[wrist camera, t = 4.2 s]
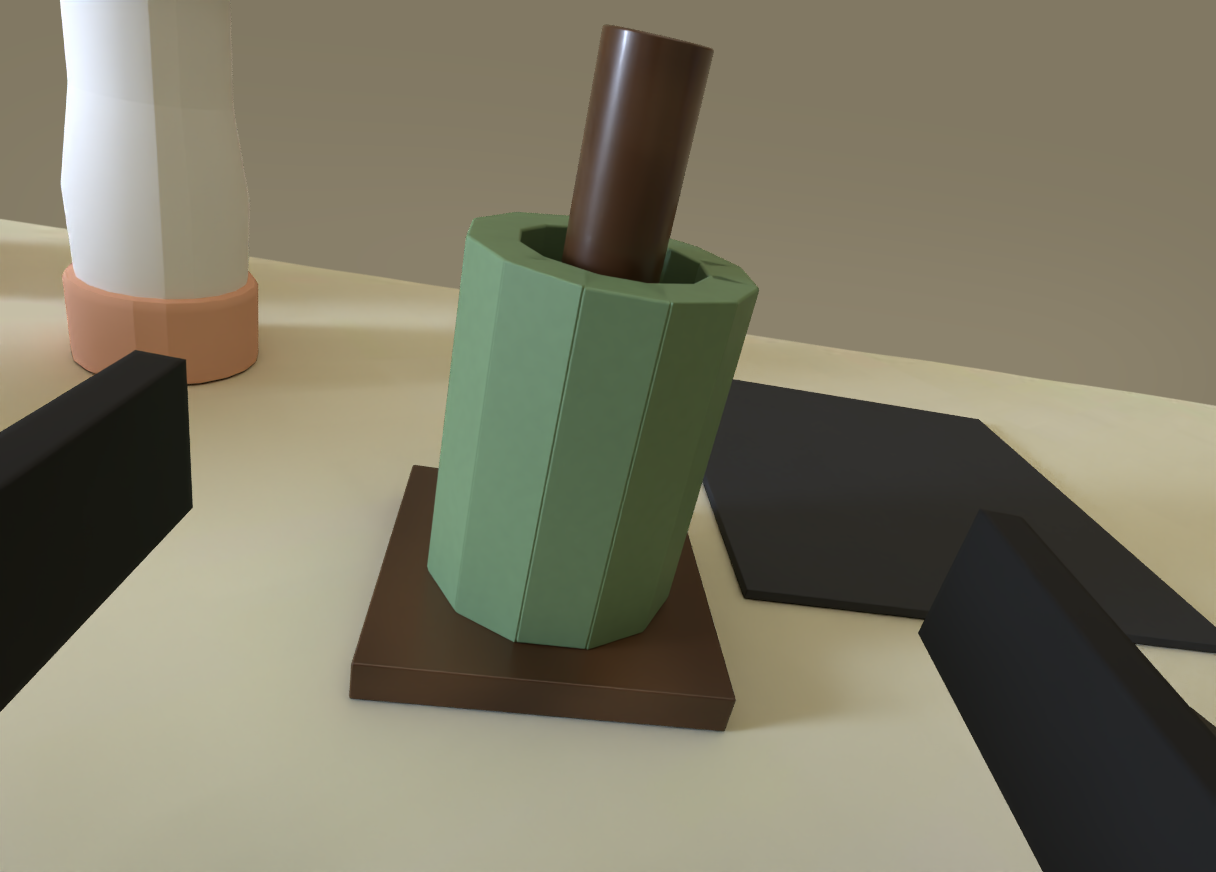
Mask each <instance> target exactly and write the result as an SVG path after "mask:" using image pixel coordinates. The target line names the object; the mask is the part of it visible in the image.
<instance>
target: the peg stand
mask: <svg viewBox="0 0 1216 872" xmlns="http://www.w3.org/2000/svg"><path fill="white" fill-rule="evenodd" d="M713 53H714V51H713V49H711V48H709V47H705V46H702V45H698V44H694V43H690V42H686V41H682V40H678V39H674V38H670V37H665V36H661V35H656V34H652V33H648V32H643V31H639V30H634V29H629V28H624V27H619V26H614V25H603V28H602V33H601V40H600V45H599V51H598V56H597V62H596V68H595V73H594V79H593V84H592V90H591V96H590V102H589V107H588V113H587V119H586V125H585V130H584V136H583V142H582V147H581V153H580V159H579V164H578V171H577V176H576V181H575V187H574V193H573V199H572V204H571V210H570V215H569V221H568V227H567V233H566V238H565V244H564V250H563V255H562V261H561V262H562V263H565V264H568V265H571V266H574V267H577V268H580V269H583V270H586V271H590V272H593V273H596V274H599V275H604V276H610V277H615V278H621V279H627V280H632V281H638V282H643V283H657V284H659V282H660V277H661V273H662V269H663V265H664V260H665V256H666V252H667V248H668V243H669V239H670V235H671V231H672V226H673V222H674V218H675V214H676V210H677V205H678V201H679V196H680V192H681V188H682V184H683V180H684V176H685V171H686V167H687V163H688V158H689V154H690V150H691V146H692V142H693V137H694V133H695V129H696V124H697V120H698V116H699V112H700V108H701V104H702V99H703V95H704V91H705V87H706V82H707V78H708V74H709V69H710V65H711V61H712V57H713ZM438 471H439V468H433V467H425V466H418V465H413V467H412V470H411V473H410V476H409V480H408V483H407V486H406V489H405V492H404V496H403V499H402V502H401V505H400V509H399V512H398V515H397V518H396V521H395V525H394V528H393V531H392V534H391V538H390V541H389V544H388V547H387V550H386V554H385V557H384V560H383V563H382V567H381V570H380V573H379V576H378V579H377V583H376V586H375V589H374V592H373V596H372V599H371V602H370V605H369V608H368V612H367V615H366V618H365V621H364V625H363V628H362V631H361V634H360V637H359V641H358V644H357V647H356V650H355V654H354V657H353V660H352V663H351V675H350V690H349V697H350V698H353V699H364V700H376V701H387V702H398V703H410V704H421V705H433V706H444V707H455V708H467V709H478V710H490V711H501V712H512V713H524V714H535V715H547V716H558V717H569V718H581V719H592V720H604V721H615V722H626V723H638V724H649V725H661V726H672V727H683V728H695V729H706V730H717V731H724V730H725V728H726V725H727V723H728V720H729V717H730V715H731V712H732V709H733V707H734V704H735V701H736V699H735V695H734V692H733V689H732V685H731V682H730V678H729V675H728V671H727V668H726V664H725V661H724V657H723V654H722V650H721V647H720V643H719V640H718V637H717V633H716V630H715V626H714V623H713V619H712V616H711V612H710V609H709V605H708V602H707V598H706V595H705V591H704V588H703V585H702V581H701V578H700V574H699V571H698V567H697V564H696V560H695V557H694V553H693V550H692V546H691V543H690V539H689V536H688V533H687V535H686V538H685V542H684V545H683V548H682V552H681V555H680V559H679V562H678V565H677V569H676V572H675V575H674V579H673V582H672V585H671V589H670V592H669V596H668V598H667V599H666V601H665V602H664V603H663V605H662V606H661V608H660V609H659V610H658V612H657V613H656V615H655V616H654V617H653V619H652V620H651V622H650V623H649V624H648V626H647V627H646V629H645V630H644V631H643V632H641V633H638V634H635V635H632V636H629V637H626V638H623V639H619V640H616V641H613V642H610V643H607V644H604V645H601V646H598V647H595V648H592V649H588V650H587V649H579V648H569V647H559V646H549V645H540V644H530V643H520V642H513V641H511V640H509V639H507V638H505V637H503V636H501V635H499V634H497V633H495V632H493V631H491V630H490V629H488V628H486V627H484V626H482V625H480V624H478V623H476V622H474V621H472V620H470V619H468V618H466V617H464V616H462V615H461V614H459V613H457V612H455V610H454V609H453V607H452V606H451V604H450V603H449V601H448V600H447V598H446V597H445V595H444V593H443V592H442V590H441V589H440V587H439V586H438V584H437V583H436V581H435V580H434V578H433V577H432V575H431V574H430V572H429V571H428V567H427V564H428V556H429V547H430V539H431V530H432V522H433V513H434V505H435V496H436V488H437V479H438Z"/></svg>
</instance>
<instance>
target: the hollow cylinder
mask: <svg viewBox="0 0 1216 872" xmlns="http://www.w3.org/2000/svg"><path fill="white" fill-rule="evenodd" d="M568 221H569V216H566V215H552V214H538V213H523V212H513V213H506V214H499V215H493V216H486V217H479V218H475V219H473V221H472V223H471V226H470V228H469V231H468V233H467V236H466V242H465V250H464V259H463V267H462V276H461V284H460V293H459V301H458V310H457V318H456V327H455V335H454V344H453V352H452V361H451V369H450V378H449V386H448V395H447V403H446V412H445V420H444V428H443V437H442V445H441V454H440V462H439V471H438V479H437V488H436V496H435V505H434V513H433V522H432V530H431V539H430V547H429V556H428V564H427V567H428V571H429V572H430V574H431V575H432V577H433V578H434V580H435V581H436V583H437V584H438V586H439V587H440V589H441V590H442V592H443V593H444V595H445V597H446V598H447V600H448V601H449V603H450V604H451V606H452V607H453V609H454V610H455V612H457V613H459V614H461V615H462V616H464V617H466V618H468V619H470V620H472V621H474V622H476V623H478V624H480V625H482V626H484V627H486V628H488V629H490V630H491V631H493V632H495V633H497V634H499V635H501V636H503V637H505V638H507V639H509V640H511V641H513V642H520V643H530V644H540V645H549V646H559V647H569V648H579V649H587V650H588V649H592V648H595V647H598V646H601V645H604V644H607V643H610V642H613V641H616V640H619V639H623V638H626V637H629V636H632V635H635V634H638V633H641V632H643V631H644V630H645V629H646V627H647V626H648V624H649V623H650V622H651V620H652V619H653V617H654V616H655V615H656V613H657V612H658V610H659V609H660V608H661V606H662V605H663V603H664V602H665V601H666V599H667V598H668V596H669V592H670V589H671V585H672V582H673V579H674V575H675V572H676V569H677V565H678V562H679V559H680V555H681V552H682V548H683V545H684V542H685V538H686V535H687V532H688V528H689V525H690V521H691V518H692V515H693V511H694V508H695V505H696V501H697V498H698V495H699V491H700V488H701V484H702V481H703V478H704V474H705V471H706V468H707V464H708V461H709V458H710V454H711V451H712V447H713V444H714V441H715V437H716V434H717V431H718V427H719V424H720V420H721V417H722V414H723V410H724V407H725V404H726V400H727V397H728V394H729V390H730V387H731V383H732V380H733V377H734V373H735V370H736V367H737V363H738V360H739V356H740V353H741V350H742V346H743V343H744V340H745V336H746V333H747V330H748V326H749V322H750V319H751V316H752V313H753V309H754V306H755V303H756V299H757V295H758V292H759V288H758V287H757V286H756V284H755V283H754V282H753V281H752V280H751V279H750V277H749V276H748V275H747V274H746V273H745V272H744V271H743V269H741V268H740V267H739V266H737V265H735V264H733V263H731V262H729V261H726V260H724V259H722V258H720V257H718V256H716V255H714V254H712V253H709V252H707V251H705V250H703V249H701V248H699V247H697V246H693V245H690V244H687V243H684V242H680V241H677V240H673V239H669V243H668V248H667V252H666V256H665V260H664V265H663V269H662V273H661V277H660V282H659V284H657V283H643V282H638V281H632V280H627V279H621V278H615V277H610V276H604V275H599V274H596V273H593V272H590V271H586V270H583V269H580V268H577V267H574V266H571V265H568V264H565V263H562V262H561V261H562V255H563V250H564V244H565V238H566V233H567V227H568Z"/></svg>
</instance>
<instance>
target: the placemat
mask: <svg viewBox="0 0 1216 872" xmlns="http://www.w3.org/2000/svg"><path fill="white" fill-rule="evenodd" d="M703 483H704V486H705V489H706V492H707V494H708V497H709V500H710V503H711V506H712V508H713V511H714V514H715V517H716V520H717V522H718V525H719V528H720V531H721V534H722V536H723V539H724V542H725V545H726V548H727V550H728V553H729V556H730V559H731V562H732V564H733V567H734V570H735V573H736V576H737V578H738V581H739V584H740V587H741V590H742V593H743V595H744V597H745V598H751V599H760V600H768V601H777V602H786V603H794V604H803V605H811V606H820V607H828V608H837V609H846V610H854V611H863V612H871V613H880V614H889V615H897V616H906V617H914V618H923V619H925V618H926V616H927V614H928V612H929V610H930V608H931V606H932V604H933V602H934V600H935V598H936V596H937V594H938V592H939V590H940V588H941V586H942V584H943V582H944V580H945V578H946V576H947V574H948V572H949V570H950V568H951V566H952V564H953V562H954V560H955V558H956V556H957V554H958V552H959V550H960V548H961V546H962V544H963V542H964V540H965V537H966V535H967V533H968V531H969V529H970V527H971V525H972V523H973V521H974V519H975V517H976V515H977V513H978V511H979V509H984V510H989V511H995V512H1000V513H1005V514H1011V515H1016V516H1021V517H1023V518H1024V519H1025V521H1026V522H1027V523H1028V524H1029V525H1030V526H1031V527H1032V528H1033V530H1034V531H1035V532H1036V533H1037V534H1038V535H1039V536H1040V538H1041V539H1042V540H1043V541H1044V542H1045V543H1046V544H1047V545H1048V547H1049V548H1050V549H1051V550H1052V551H1053V552H1054V553H1055V555H1056V556H1057V557H1058V558H1059V559H1060V560H1061V561H1062V563H1063V564H1064V565H1065V566H1066V567H1067V568H1068V569H1069V570H1070V572H1071V573H1072V574H1073V575H1074V576H1075V577H1076V578H1077V580H1078V581H1079V582H1080V583H1081V584H1082V585H1083V586H1084V587H1085V589H1086V590H1087V591H1088V592H1089V593H1090V594H1091V595H1092V597H1093V598H1094V599H1095V600H1096V601H1097V602H1098V603H1099V605H1100V606H1101V607H1102V608H1103V609H1104V610H1105V611H1106V612H1107V614H1108V615H1109V616H1110V617H1111V618H1112V619H1113V620H1114V622H1115V623H1116V624H1117V625H1118V626H1119V627H1120V628H1121V629H1122V631H1123V632H1124V633H1125V634H1126V635H1127V636H1128V637H1129V639H1130V640H1131V641H1132V642H1133V643H1137V644H1146V645H1154V646H1163V647H1171V648H1180V649H1189V650H1197V651H1206V652H1214V653H1216V627H1215V626H1214V625H1213V624H1212V623H1210V622H1209V621H1208V620H1207V619H1206V618H1205V617H1204V616H1202V615H1201V614H1200V613H1199V612H1198V611H1197V610H1196V609H1194V608H1193V607H1192V606H1191V605H1190V604H1189V603H1188V602H1186V601H1185V600H1184V599H1183V598H1182V597H1181V596H1180V595H1178V594H1177V593H1176V592H1175V591H1174V590H1173V589H1172V588H1170V587H1169V586H1168V585H1167V584H1166V583H1165V582H1164V581H1162V580H1161V579H1160V578H1159V577H1158V576H1157V575H1156V574H1155V573H1153V572H1152V571H1151V570H1150V569H1149V568H1148V567H1147V566H1145V565H1144V564H1143V563H1142V562H1141V561H1140V560H1139V559H1137V558H1136V557H1135V556H1134V555H1133V554H1132V553H1131V552H1129V551H1128V550H1127V549H1126V548H1125V547H1124V546H1123V545H1121V544H1120V543H1119V542H1118V541H1117V540H1116V539H1115V538H1113V537H1112V536H1111V535H1110V534H1109V533H1108V532H1107V531H1105V530H1104V529H1103V528H1102V527H1101V526H1100V525H1099V524H1097V523H1096V522H1095V521H1094V520H1093V519H1092V518H1091V517H1090V516H1088V515H1087V514H1086V513H1085V512H1084V511H1083V510H1082V509H1080V508H1079V507H1078V506H1077V505H1076V504H1075V503H1074V502H1072V501H1071V500H1070V499H1069V498H1068V497H1067V496H1066V495H1064V494H1063V493H1062V492H1061V491H1060V490H1059V489H1058V488H1056V487H1055V486H1054V485H1053V484H1052V483H1051V482H1050V481H1048V480H1047V479H1046V478H1045V477H1044V476H1043V475H1042V474H1040V473H1039V472H1038V471H1037V470H1036V469H1035V468H1034V467H1032V466H1031V465H1030V464H1029V463H1028V462H1027V461H1026V460H1025V459H1023V458H1022V457H1021V456H1020V455H1019V454H1018V453H1017V452H1015V451H1014V450H1013V449H1012V448H1011V447H1010V446H1009V445H1007V444H1006V443H1005V442H1004V441H1003V440H1002V439H1001V438H999V437H998V436H997V435H996V434H995V433H994V432H993V431H991V430H990V429H989V428H988V427H987V426H986V425H985V424H983V423H982V422H981V421H980V420H979V419H973V418H967V417H961V416H955V415H949V414H943V413H937V412H930V411H924V410H918V409H912V408H906V407H900V406H894V405H887V404H881V403H875V402H869V401H863V400H857V399H851V398H844V397H838V396H832V395H826V394H820V393H814V392H808V391H801V390H795V389H789V388H783V387H777V386H771V385H765V384H758V383H752V382H746V381H740V380H734V379H733V380H732V383H731V387H730V390H729V394H728V397H727V400H726V404H725V407H724V410H723V414H722V417H721V420H720V424H719V427H718V431H717V434H716V437H715V441H714V444H713V447H712V451H711V454H710V458H709V461H708V464H707V468H706V471H705V474H704V478H703Z"/></svg>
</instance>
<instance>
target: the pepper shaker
mask: <svg viewBox="0 0 1216 872" xmlns="http://www.w3.org/2000/svg"><path fill="white" fill-rule="evenodd" d="M60 5H61V15H62V25H63V36H64V46H65V57H66V66H67V77H68V88H67V102H66V103H67V104H66V116H65V131H64V146H63V159H62V174H61V189H62V196H63V203H64V209H65V216H66V222H67V229H68V236H69V243H70V249H71V256H72V263H71V264H70V265H69V266H68V267H67V268H66V269H65V271H64V273H63V275H62V279H63V288H64V296H65V304H66V312H67V321H68V329H69V337H70V346H71V352H72V355H73V359H74V361H75V362H77V363H78V364H79V365H81V366H82V367H83V368H85V369H86V370H87V371H90V372H93V373H96V374H97V373H98V372H100V371H102V370H103V369H105V368H107V367H108V366H110V365H112V364H113V363H115V362H116V361H118V360H120V359H121V358H123V357H125V356H126V355H128V354H130V353H131V352H133V351H134V350H139V351H144V352H149V353H155V354H160V355H165V356H170V357H176V358H181V359H186V368H187V384H194V383H203V382H208V381H213V380H218V379H223V378H227V377H230V376H232V375H235V374H237V373H239V372H242V371H244V370H246V369H248V368H249V367H250V366H251V365H252V364H253V363H254V362H255V361H257V355H258V283H257V281H256V280H255V278H254V277H253V276H252V275H251V273H250V272H249V271H248V258H249V211H250V200H249V194H248V189H247V183H246V177H245V171H244V165H243V160H242V154H241V148H240V142H239V137H238V132H237V125H236V120H235V114H234V108H233V80H232V42H231V41H232V40H231V1H230V0H60Z"/></svg>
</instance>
